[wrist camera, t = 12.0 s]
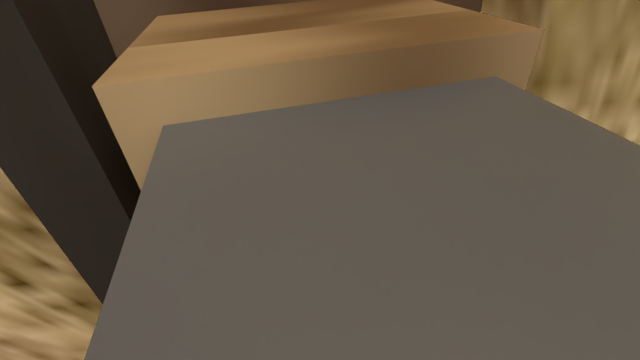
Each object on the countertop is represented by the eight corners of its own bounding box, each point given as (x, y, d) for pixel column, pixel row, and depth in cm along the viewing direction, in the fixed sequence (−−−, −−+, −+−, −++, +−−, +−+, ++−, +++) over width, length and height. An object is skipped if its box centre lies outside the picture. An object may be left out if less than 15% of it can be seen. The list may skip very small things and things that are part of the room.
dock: (407, -66, 12) (609, -79, 6) (381, 281, 24) (439, 404, 17) (82, -40, 11) (-140, -21, 4) (225, 318, 22) (225, 469, 16)
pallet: (401, -9, 7) (543, 29, 4) (371, 378, 18) (404, 473, 14) (157, 15, 6) (91, 87, 3) (278, 404, 17) (291, 511, 14)
